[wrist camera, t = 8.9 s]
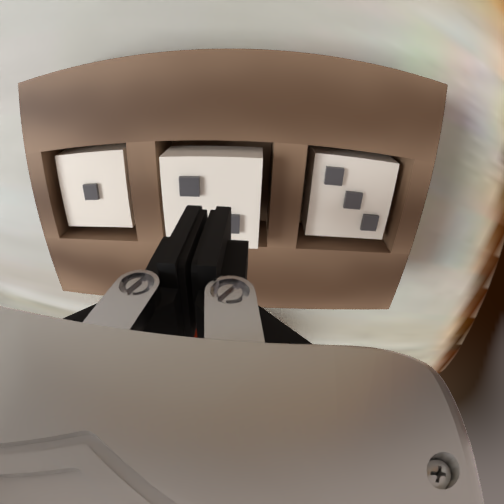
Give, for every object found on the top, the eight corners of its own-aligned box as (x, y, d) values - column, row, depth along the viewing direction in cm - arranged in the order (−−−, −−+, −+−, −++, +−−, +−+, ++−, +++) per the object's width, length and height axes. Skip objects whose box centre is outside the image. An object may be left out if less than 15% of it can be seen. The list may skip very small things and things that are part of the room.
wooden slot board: (65, 75, 15) (18, 83, 11) (405, 78, 15) (447, 84, 11) (91, 251, 23) (63, 290, 19) (368, 264, 23) (388, 309, 19)
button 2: (170, 146, 14) (157, 158, 12) (262, 147, 14) (262, 159, 12) (176, 225, 17) (166, 246, 15) (258, 229, 17) (257, 250, 15)
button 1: (72, 146, 16) (52, 157, 14) (136, 140, 16) (121, 150, 14) (83, 211, 18) (67, 227, 16) (143, 211, 18) (131, 229, 16)
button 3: (309, 143, 16) (315, 154, 14) (385, 153, 16) (401, 165, 14) (300, 218, 18) (305, 236, 16) (371, 223, 18) (382, 241, 16)
